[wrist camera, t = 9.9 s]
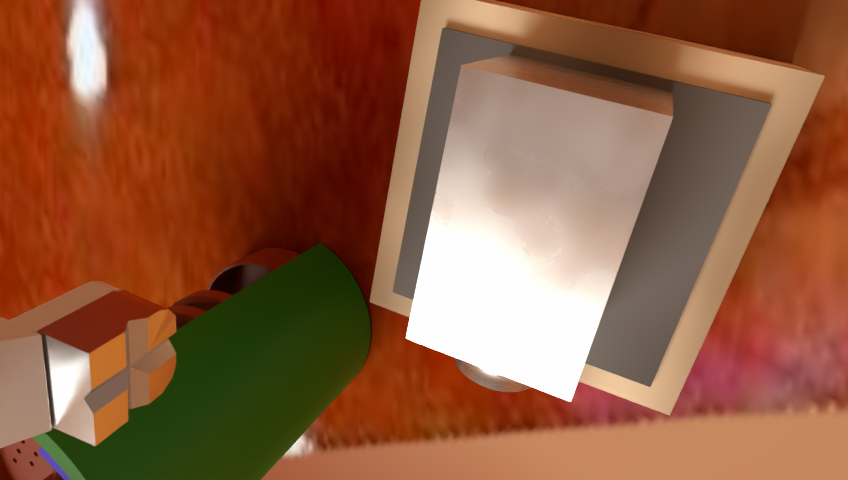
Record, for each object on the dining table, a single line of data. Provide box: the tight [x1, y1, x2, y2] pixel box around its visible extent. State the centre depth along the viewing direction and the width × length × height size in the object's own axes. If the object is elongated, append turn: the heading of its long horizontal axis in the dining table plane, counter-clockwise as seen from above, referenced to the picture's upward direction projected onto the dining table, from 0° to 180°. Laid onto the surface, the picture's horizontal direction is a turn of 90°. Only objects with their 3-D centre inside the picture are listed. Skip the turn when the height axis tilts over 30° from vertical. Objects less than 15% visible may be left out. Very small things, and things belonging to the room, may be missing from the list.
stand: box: [370, 0, 825, 415], centre depth 22 cm, size 12×12×5 cm
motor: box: [0, 242, 371, 480], centre depth 24 cm, size 10×9×20 cm
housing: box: [406, 54, 673, 402], centre depth 18 cm, size 9×5×5 cm, turn 169°
